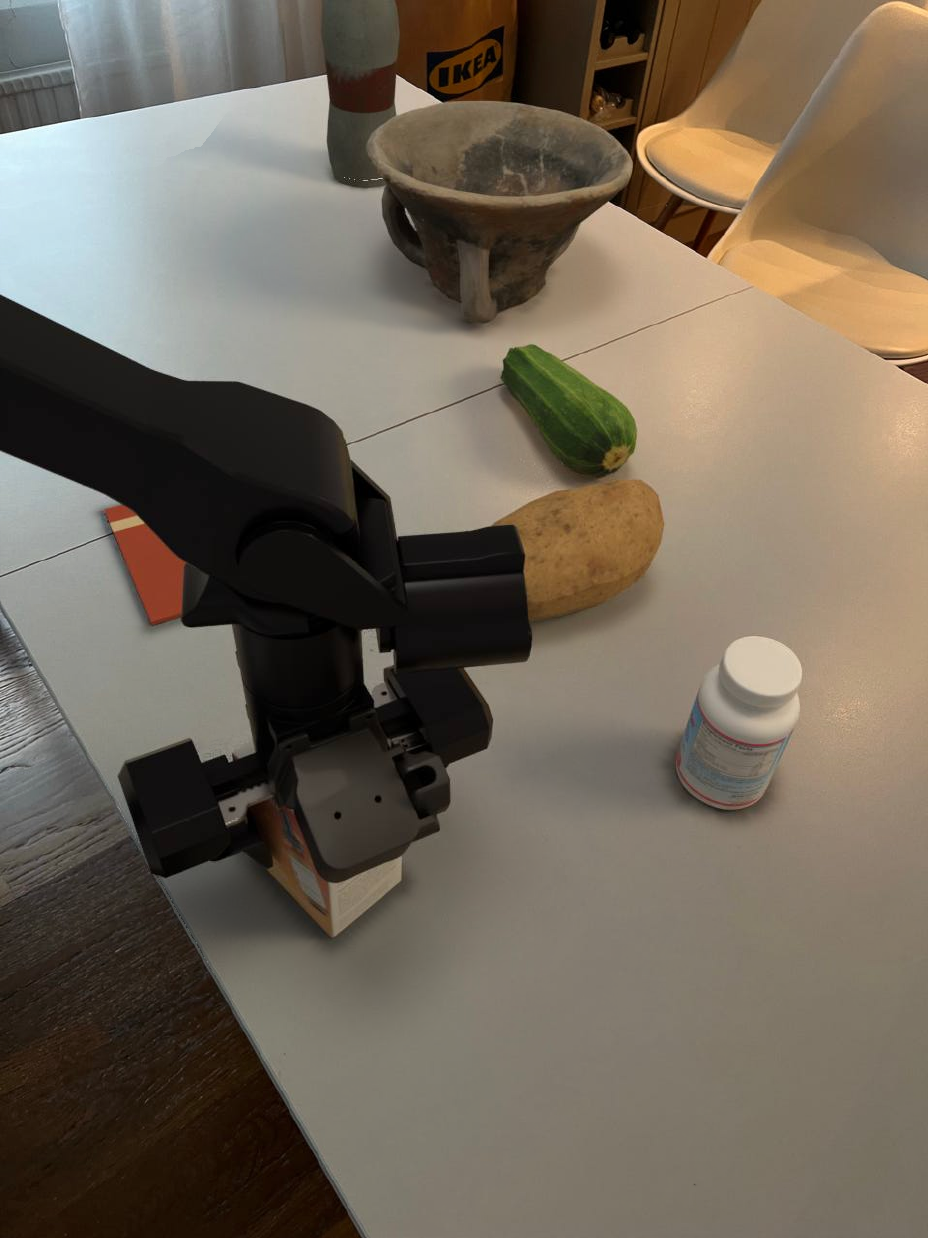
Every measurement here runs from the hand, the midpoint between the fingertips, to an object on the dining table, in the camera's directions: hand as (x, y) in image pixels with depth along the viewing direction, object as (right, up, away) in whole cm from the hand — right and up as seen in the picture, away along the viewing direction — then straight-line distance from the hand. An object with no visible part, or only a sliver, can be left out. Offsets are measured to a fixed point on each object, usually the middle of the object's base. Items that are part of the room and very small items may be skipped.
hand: (322, 838), depth 58 cm
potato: (+16, +14, +20) cm, 29 cm away
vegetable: (+17, +30, +35) cm, 49 cm away
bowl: (+11, +50, +54) cm, 75 cm away
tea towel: (-10, +20, +23) cm, 32 cm away
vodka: (-5, +70, +72) cm, 100 cm away
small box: (0, -2, +3) cm, 4 cm away
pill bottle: (+25, +2, +9) cm, 27 cm away
